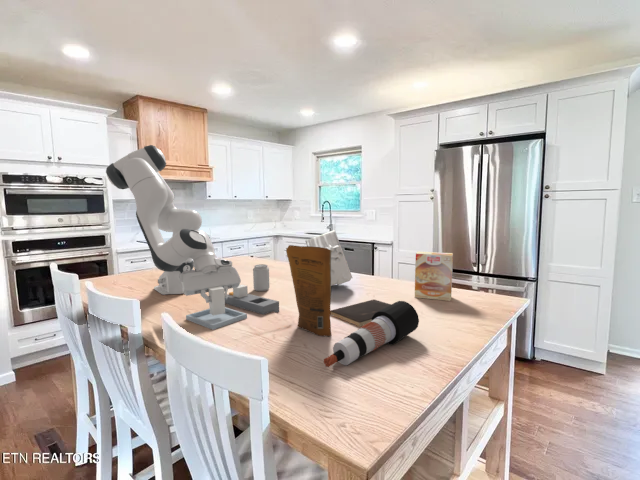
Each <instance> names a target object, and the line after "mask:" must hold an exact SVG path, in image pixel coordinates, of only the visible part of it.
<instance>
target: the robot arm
mask: <svg viewBox="0 0 640 480" xmlns="http://www.w3.org/2000/svg"><path fill="white" fill-rule="evenodd" d="M166 165H167V162H166V157H165V154H164V153H163V152H162V151H161V150H160V149H159V148H158V147H156V146H155V145H152V144H150V145H146V146H145V145H144V146H143V147H142V148H139V149H137V150H134V151H132V152H130V153H127V155H125V156H123V157H121V158H119V159H118V160H116V161H115V162H114V163H113V162H112V163H110V164H109V165H108V166H107V167H106V169H105V173H106V177H107V180H108V181H109V182H110V183H111V185H113V186H115V187H116V188H117V189H119V190H126V189H129V190H130V191H131V193H132V195H133V198H134V200H135V205H136V207H135V208H136V212H135V215H136V216H135V217H136V220H137V223H138V225H139V227H140V230H141V232H142V235H143V236H144V239H145V241H146V244H147V246H148V248H149V251H150V255H151V259H152V262H153V264H154V267H156V268H157V269H158V270H160V271H163V272H162V274H161V275H160V276H159V277H158V279H157V283H158V285H156V286H154V287H153V290H154V291H156V292H157V293H159V294H161V295H162V296H163V295H181V294H183V295H185V296H186V297H187V296H193V295H198V294H200V296H201V298H203V299H204V300H205V302H206V304H209V302H211V296H209V295H208V294H206V293H209V290H208V288H213V287H219V286H221V287H223V288H224V295H225V300H226V299H227V298H228V291H229V289H233V288H236V287H238V286H239V285H241V281H242V280H241V277H240V274H239V272H238V270H237V269H236V267H234V266H233V262H232V260H229V259H223V258H219V257H217V255H216V254H215V247H214V245H213V243H212V240H211V238H210V237H209V235H208V233H207V232H206V231H204V230H201V226H202V222H203V221H202V216H201V214H200V213H199V212H198V211H196V210H193V209H189V208H178V207H176V206H175V203H174V199H175V194H174V192H173V191H172V189H171V187H170V186H169V185H168V183H167V182H166V181H165V179H164V177H163V176H162V175H161V173H160V172H162V171H163V170H164V169H165V167H167V166H166ZM161 231H163V232H166V233H172V236H171V238H169V239H168V240H167V241H165V240H164V238H163V236H162V233H161Z"/></svg>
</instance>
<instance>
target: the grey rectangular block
mask: <svg viewBox="0 0 640 480" xmlns="http://www.w3.org/2000/svg"><path fill="white" fill-rule="evenodd" d="M208 290H209V292H208V296H211V302H209V303H208V305H209V306H208V307H209V308H208V309H210V314H212V315H213V316H214V315H219V314H223V313H225V307H226V304H225V295H224V293H225V292H224V288H223V287H221V286H219V287H213V288H208Z"/></svg>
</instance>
